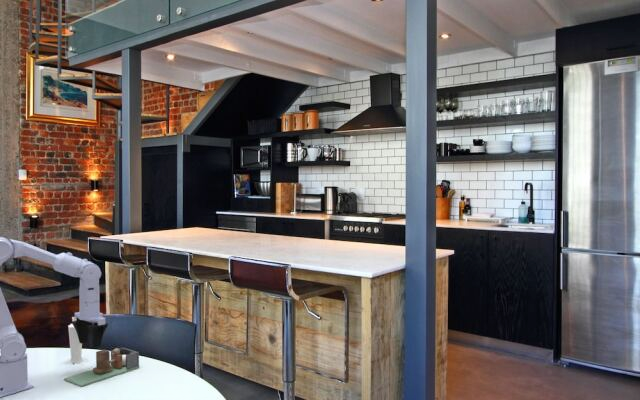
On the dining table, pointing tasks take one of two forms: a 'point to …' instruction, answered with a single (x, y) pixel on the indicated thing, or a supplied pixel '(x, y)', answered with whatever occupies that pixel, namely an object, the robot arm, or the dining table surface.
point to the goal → (130, 358)
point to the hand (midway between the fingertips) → (89, 344)
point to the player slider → (107, 361)
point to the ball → (123, 360)
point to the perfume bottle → (74, 344)
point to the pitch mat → (95, 376)
